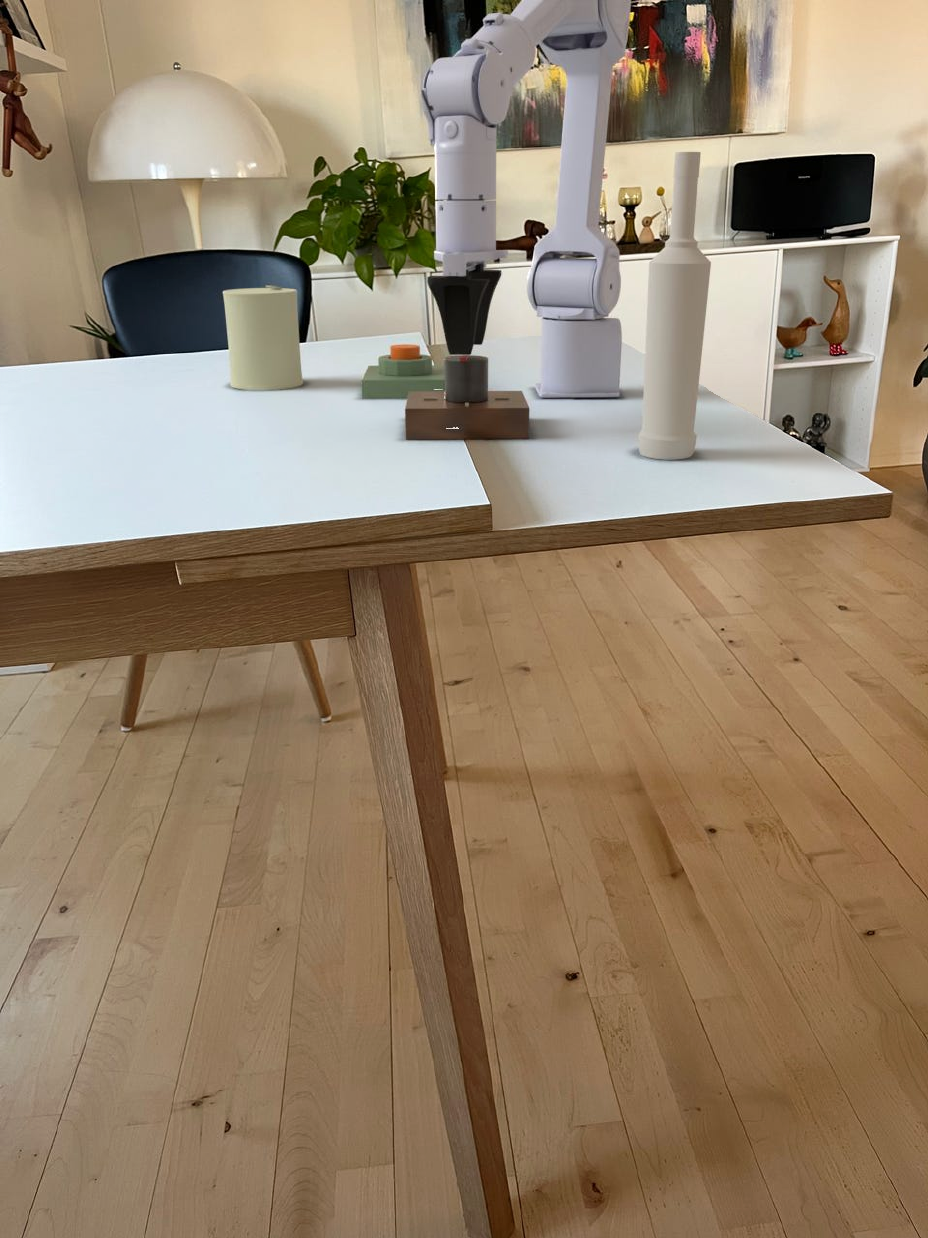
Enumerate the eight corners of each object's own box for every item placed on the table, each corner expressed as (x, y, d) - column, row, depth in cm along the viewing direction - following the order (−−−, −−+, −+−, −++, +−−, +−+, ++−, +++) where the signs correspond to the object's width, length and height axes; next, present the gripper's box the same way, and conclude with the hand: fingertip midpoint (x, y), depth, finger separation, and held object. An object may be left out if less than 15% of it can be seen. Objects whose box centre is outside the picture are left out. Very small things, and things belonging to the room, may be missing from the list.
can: (317, 381, 131) (311, 284, 127) (276, 392, 124) (269, 289, 119) (258, 377, 135) (251, 282, 130) (215, 387, 127) (206, 287, 123)
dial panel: (521, 418, 108) (522, 388, 106) (528, 438, 98) (529, 406, 97) (409, 419, 107) (408, 389, 106) (405, 439, 98) (404, 406, 97)
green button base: (446, 382, 131) (446, 350, 129) (446, 398, 119) (446, 363, 118) (369, 382, 130) (367, 351, 129) (362, 398, 119) (360, 364, 118)
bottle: (683, 462, 89) (707, 149, 79) (628, 455, 91) (646, 151, 82) (703, 451, 93) (729, 152, 83) (650, 445, 95) (669, 154, 86)
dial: (448, 394, 104) (448, 351, 102) (490, 395, 103) (491, 352, 102) (441, 401, 100) (440, 357, 98) (484, 402, 99) (485, 358, 98)
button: (420, 358, 125) (420, 344, 125) (419, 362, 122) (419, 347, 121) (391, 358, 125) (390, 344, 125) (389, 362, 122) (389, 347, 121)
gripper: (498, 199, 88) (497, 359, 93) (516, 200, 101) (514, 340, 106) (418, 200, 89) (421, 358, 94) (447, 201, 102) (448, 339, 107)
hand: (466, 349), depth 100 cm, fingers open, 7 cm apart
